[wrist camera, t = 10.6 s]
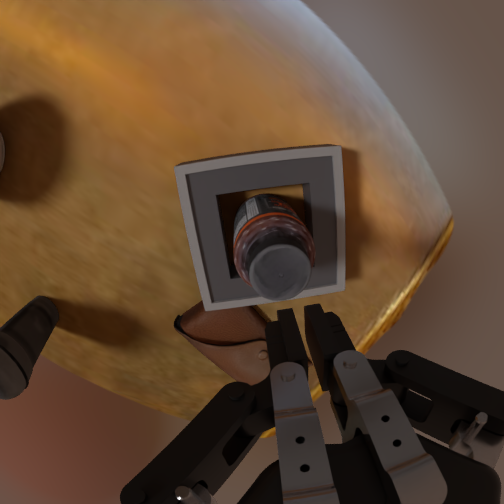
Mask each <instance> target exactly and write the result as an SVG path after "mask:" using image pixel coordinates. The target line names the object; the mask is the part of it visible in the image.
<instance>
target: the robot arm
mask: <svg viewBox="0 0 504 504" xmlns="http://www.w3.org/2000/svg"><path fill="white" fill-rule="evenodd" d="M277 317H278V321H273V322H268V323H267V325H266V328H265V337H266V344H267V351H268V358H269V365H270V373H269V375H268V376H267V377H266V378H265V379H264V380H263V381H261V382H259V383H257V384H254V385H252V386H251V385H249V384H248V383H245V382H232V383H229V384H227V385H225V386H224V387H223V388H222V389H221V390H220V391H219V392H218V393H217V394H216V395H215V396H214V398H213V399H212V400H211V401H210V402H209V403H208V404H207V405H206V406H205V407H204V408H203V409H202V410H201V412H200V413H199V414H198V415H197V416H196V417H195V418H194V419H193V420H192V421H191V422H190V423H189V424H188V426H186V427H185V428H184V429H183V430H182V431H181V432H180V433H179V435H177V436H176V438H175V439H174V440H173V441H172V442H171V443H170V444H169V445H168V446H167V447H166V448H165V449H164V450H162V451H161V453H159V454H158V455H157V456H156V457H155V458H154V459H153V460H152V461H151V462H150V463H149V464H148V465H147V466H146V467H145V468H144V469H143V470H142V471H141V472H140V473H139V474H137V476H135V477H134V478H133V479H132V480H131V481H130V482H129V483H128V484H127V485H125V487H124V488H123V489H122V491H121V494H120V501H121V504H218V503H217V501H216V500H215V498H214V497H213V495H214V494H215V493H216V492H217V491H218V489H219V488H220V487H221V486H222V485H223V483H224V482H225V481H226V480H227V479H228V477H229V476H230V475H231V474H232V473H233V471H234V470H235V469H236V468H237V466H238V465H239V464H240V462H241V461H242V460H243V459H244V457H245V456H246V455H247V453H248V452H249V451H250V449H251V448H252V447H253V446H254V444H255V443H256V441H257V440H258V439H259V437H260V436H261V434H262V432H264V431H266V430H269V429H271V428H273V427H276V436H277V445H278V455H279V460H277V461H275V462H273V463H272V464H271V465H269V466H268V467H267V468H266V469H265V470H264V471H263V472H262V473H261V474H260V475H259V476H258V478H257V479H256V480H255V482H254V483H253V484H252V486H251V487H250V488H249V489H248V491H247V492H246V493H245V494H244V496H243V497H242V498H241V499H240V501H239V502H238V503H237V504H500V497H501V482H500V478H499V476H498V474H497V473H496V471H495V470H494V467H495V465H496V463H497V460H498V458H499V456H500V453H501V451H502V448H503V445H504V391H501V390H499V389H496V388H494V387H491V386H489V385H486V384H484V383H482V382H479V381H477V380H474V379H472V378H469V377H467V376H465V375H462V374H460V373H458V372H455V371H453V370H450V369H448V368H446V367H443V366H441V365H439V364H436V363H434V362H432V361H429V360H427V359H425V358H422V357H420V356H418V355H416V354H413V353H411V352H409V351H405V350H397V351H394V352H392V353H390V354H389V355H388V357H387V359H386V360H371V359H367V358H366V357H365V356H364V355H363V354H362V353H360V352H358V351H356V349H355V347H354V345H353V343H352V341H351V339H350V338H349V336H348V334H347V332H346V331H345V328H344V326H343V324H342V322H341V320H340V318H339V317H338V316H337V315H336V314H334V313H333V312H327V313H324V311H323V309H322V307H321V305H320V304H313V305H307V306H304V317H305V335H306V341H307V344H308V348H309V351H310V354H311V357H312V360H313V363H314V366H315V369H316V372H317V376H318V379H319V382H320V385H321V388H322V391H328V390H329V392H330V395H331V398H330V404H331V407H332V410H333V413H334V415H335V418H336V421H337V424H338V427H339V430H340V432H341V436H342V444H325V443H324V439H323V435H322V430H321V426H320V421H319V417H318V413H317V410H316V408H314V406H313V402H312V398H311V394H310V390H309V385H308V357H307V354H306V351H305V347H304V344H303V341H302V338H301V334H300V331H299V328H298V325H297V322H296V318H295V315H294V312H293V309H292V308H289V309H283V310H277ZM409 389H411V390H413V391H415V392H417V393H419V394H421V395H423V396H425V397H428V398H430V399H431V400H432V401H431V400H428V399H426V398H424V397H422V396H420V395H418V394H416V393H414V392H412V391H410V390H409ZM412 427H414V428H416V429H417V430H420V431H422V432H423V433H425V434H428V435H430V436H432V437H434V438H436V439H438V440H440V441H442V442H444V443H446V444H448V445H449V448H447V447H444V446H442V445H440V444H438V443H436V442H434V441H431V440H429V439H427V438H425V437H423V436H421V435H419V434H417V433H415V431H414V429H413V428H412Z"/></svg>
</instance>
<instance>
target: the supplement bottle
mask: <svg viewBox="0 0 504 504" xmlns="http://www.w3.org/2000/svg"><path fill="white" fill-rule="evenodd" d="M315 254H316V251H315V245H314V240H313V238H312V236H311V234H310V232H309V231H308V229H307V227H306V226H305V225H304V223H303V222H302V221H301V220H300V218H299V217H298V215H297V214H296V213H295V211H294V210H293V208H292V207H291V206H290V205H289V204H288V203H287V202H286V201H285V200H283V199H282V198H280V197H278V196H275V195H272V194H259V195H255V196H253V197H251V198H249V199H247V200H246V201H245V202H243V204H242V205H241V206H240V207H239V209H238V211H237V213H236V216H235V221H234V263H235V267H236V270H237V272H238V274H239V275H240V277H241V278H242V279H243V281H244V282H245V283H247V284H248V285H249V286H251V287H252V288H253V289H254V290H255V291H256V292H257V293H258V294H259V295H260V296H262V297H263V298H266V299H269V300H272V301H283V300H287V299H290V298H293V297H295V296H297V295H298V294H299V293H301V292H302V291H303V290H304V289H305V288H306V286H307V285H308V283H309V281H310V278H311V273H312V267H313V265H314V261H315Z"/></svg>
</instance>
